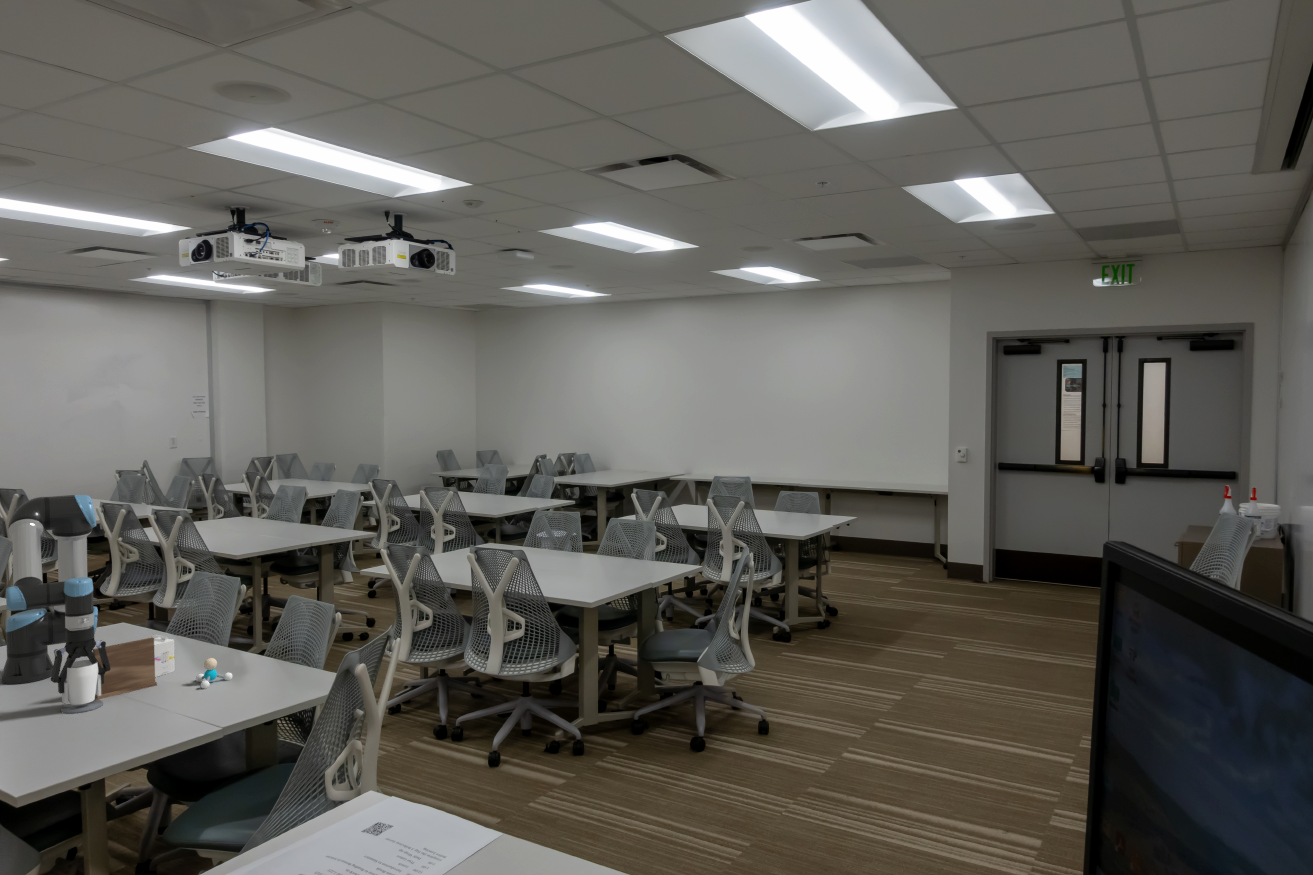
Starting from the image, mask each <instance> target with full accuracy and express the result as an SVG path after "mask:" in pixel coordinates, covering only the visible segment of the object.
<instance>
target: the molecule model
mask: <svg viewBox="0 0 1313 875" xmlns="http://www.w3.org/2000/svg"><path fill="white" fill-rule="evenodd" d="M217 666H218V661H217V659H215V658H214V657H209V658H207V659H206V660H204V663H203V667H204V668H205V669H206V671H205V672H204V673H199V674H197V675H196V678H195V681H197V682H200V688H202V689H204V690H205V689H208V688H209V687H210V684H211V683H210V682H213V681H214V680H215V679H216V678H221V679H224V681H230V680H232V679H233V673H232V672H226V673H224V674H220V673H218V672H217V670H216V669H215V668H217Z"/></svg>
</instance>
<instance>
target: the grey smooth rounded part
mask: <svg viewBox="0 0 1313 875" xmlns="http://www.w3.org/2000/svg"><path fill="white" fill-rule="evenodd" d="M103 705H104V701H103V700H101V699H94V700H93V701H92V702H89V703H86V704H81V705H71V704H70V703H67V704H65V705H63V706H62V707H61V708H60V712H61V713H63V714H66V715H67V714H68V715H69V714H72V715H73V714H80V713H81V714H82V713H87V712H91V711H95V710H97V709H99V708H101V707H102V706H103Z"/></svg>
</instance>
